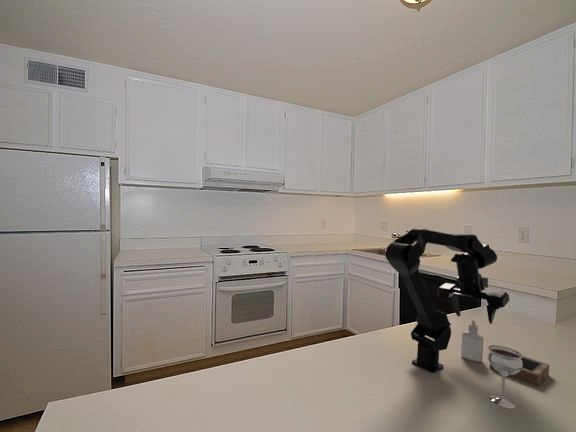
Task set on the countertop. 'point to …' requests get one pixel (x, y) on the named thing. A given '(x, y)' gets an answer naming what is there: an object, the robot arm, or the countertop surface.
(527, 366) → the rubber-lined collar
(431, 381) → the countertop surface
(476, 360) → the eye dropper bottle
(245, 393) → the countertop surface
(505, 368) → the wineglass
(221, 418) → the countertop surface
